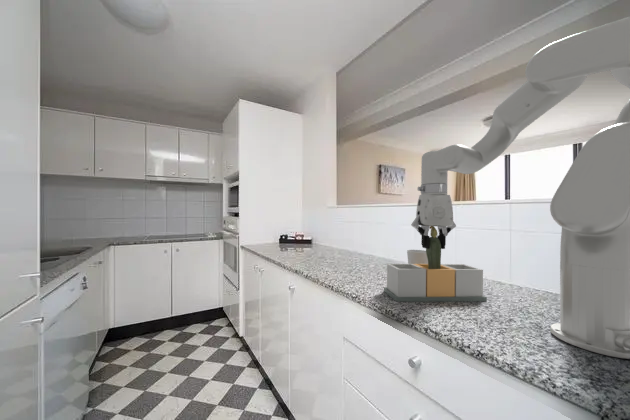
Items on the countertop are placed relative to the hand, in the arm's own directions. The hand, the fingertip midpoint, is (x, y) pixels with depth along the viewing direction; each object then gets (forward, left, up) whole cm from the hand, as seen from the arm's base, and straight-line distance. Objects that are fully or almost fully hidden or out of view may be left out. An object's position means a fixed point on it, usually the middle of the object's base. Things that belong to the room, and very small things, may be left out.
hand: (433, 247), depth 77 cm
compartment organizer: (0, 0, -15) cm, 15 cm away
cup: (+15, -3, -15) cm, 22 cm away
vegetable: (0, 0, -13) cm, 13 cm away
